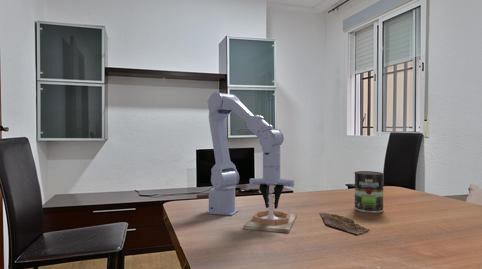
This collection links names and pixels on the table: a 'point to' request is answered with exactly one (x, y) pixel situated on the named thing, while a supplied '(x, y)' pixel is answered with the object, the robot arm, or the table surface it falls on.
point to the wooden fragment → (343, 223)
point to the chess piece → (271, 207)
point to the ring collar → (271, 221)
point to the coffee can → (369, 191)
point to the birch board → (276, 228)
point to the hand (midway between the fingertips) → (271, 207)
